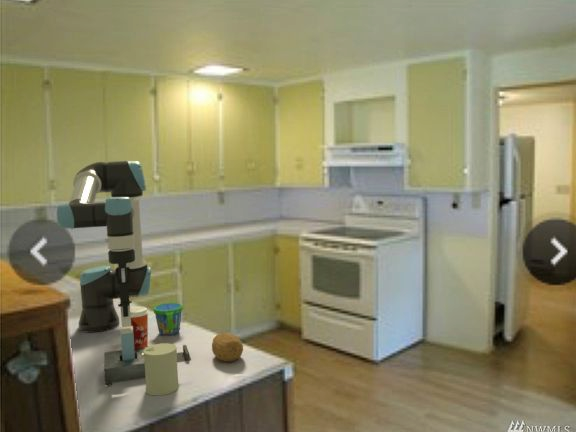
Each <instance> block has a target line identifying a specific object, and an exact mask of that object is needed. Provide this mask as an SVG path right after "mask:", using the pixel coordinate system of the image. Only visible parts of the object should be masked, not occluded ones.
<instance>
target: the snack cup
mask: <svg viewBox="0 0 576 432" xmlns="http://www.w3.org/2000/svg"><path fill="white" fill-rule="evenodd" d="M183 309H184V308H183V304H182V303H178V302H167V303H165V302H164V303H160V304H157V305H156V306H154V307H153V312H154V314H155V320H156V321H155V322H156V324H157V329H158V330H157V331H158V332H159V334H160V335H161V336H165V337H166V336H174V335H176V334H178V333H180V330H181V322H182V321H181V320H182V312H183Z"/></svg>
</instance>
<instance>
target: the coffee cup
mask: <svg viewBox="0 0 576 432" xmlns="http://www.w3.org/2000/svg"><path fill="white" fill-rule="evenodd" d="M149 313H150V312H149V310H148V308H147V307H145V306H132V307H131V306H130V315H131V326H133V335H134V348H140V347H147V346H148V344H149V342H148V341H149V340H148V336H149V335H148V329H149V328H148V325H149V324H148V323H149V321H148V318H149V317H148V314H149Z"/></svg>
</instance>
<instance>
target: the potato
mask: <svg viewBox="0 0 576 432" xmlns="http://www.w3.org/2000/svg"><path fill="white" fill-rule="evenodd" d="M211 350H212V353H213V355H214V356H215V357H216V358H217V359H218V360H220V361H223V362H228V363H230V362H234V361H235V362H236V361H237V360H238V359H239V358H240V357H241V356H242V355H243V352H244V345H243V343H242V341H241V339H240V338H239V337H238V336H237V335H234V334H231V333H228V332H221V333H218V334H216V335H215V336H214V338H213V339H212V343H211Z"/></svg>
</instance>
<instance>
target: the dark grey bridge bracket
mask: <svg viewBox="0 0 576 432" xmlns="http://www.w3.org/2000/svg"><path fill="white" fill-rule="evenodd" d="M188 361H189V362H190V361H192V358H191V355H190V352H189V349H188V346H187V344H183V345H182V352H177V363H183V362H188Z"/></svg>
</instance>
